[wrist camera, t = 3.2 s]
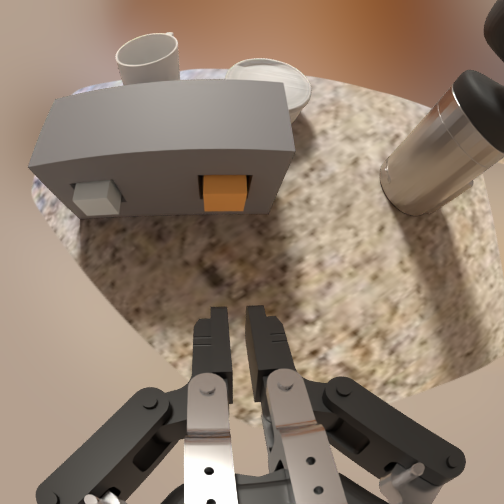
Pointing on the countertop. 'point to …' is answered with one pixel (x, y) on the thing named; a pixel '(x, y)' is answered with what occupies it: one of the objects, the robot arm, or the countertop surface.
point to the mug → (149, 59)
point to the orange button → (224, 192)
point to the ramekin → (276, 80)
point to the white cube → (98, 197)
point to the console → (168, 143)
